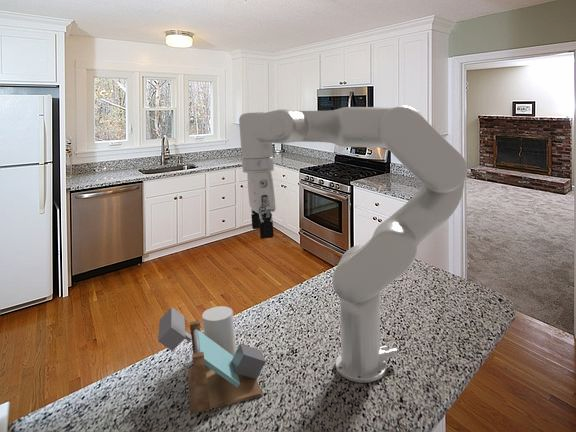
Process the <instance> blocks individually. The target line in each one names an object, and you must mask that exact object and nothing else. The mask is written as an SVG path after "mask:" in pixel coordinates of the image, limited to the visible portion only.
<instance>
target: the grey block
mask: <svg viewBox="0 0 576 432" xmlns="http://www.w3.org/2000/svg"><path fill="white" fill-rule="evenodd" d="M266 362H267V361H266V359H265V356H264V354H263V351H262V349H258V348H255V347H252V346H250V345H246V344H243V343H240V344H239V345H238V347H237V348H236V353H235V355H234V356H233V359H232V365H233V369H234V373H237V374H240V375H244V376H247V377H250V378H254V379H257V380H258V377H259V376H260V374H261V372H262V370H263V368H264V366H265V364H266Z"/></svg>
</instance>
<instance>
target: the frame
mask: <svg viewBox="0 0 576 432" xmlns="http://www.w3.org/2000/svg"><path fill="white" fill-rule="evenodd" d="M200 323H201V322H200V320H195V321H189V330H190V334H191V337H192V340H191V346H192V347H191V348H192V353H191V356H192V357H191V358H192V367H190V368H187V380H188V382H187V383H188V395H189V396H188V399H189V413H190V414H195V413H202V412H205V411H210V410H212V409H215V408H218V407H223V406H227V405H233V404H235V403H240V402H244V401H247V400H252V399H256V398H261V397H263V393H262V391H261V388H260V385H259V381H258V378H257V379H254V378H250V377H247V376H244V375H240V374H238V378H239V382H240V385H239V386H238V387H236V386H234V385H233V384H231V383H230V382H229V381H227V380H226V379H224V378H223V377H221V376H220V375H219V374H217V373H216V372H214V371H213V370H211V369H210V368H209V367H207V366H206V365H205V360H204V352H200V353H195V342H194V332H193V330H194V329H195V328H197V330H199V331H200V332H201V333H202V331H201V324H200Z"/></svg>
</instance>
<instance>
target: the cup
mask: <svg viewBox="0 0 576 432" xmlns="http://www.w3.org/2000/svg"><path fill="white" fill-rule="evenodd" d="M201 318H202V325H203V334H204V335H205V336H207V337H208V338H210V339H211V340H212V341H214V342H215V343H216V344H218V345H219V346H220V347H222V348H223V349H224V350H226V351H227V352H229V353H230V354H231V355H233V357H234V355H235V353H236V351H237V346H236V345H237V344H236V335H235V333H236V332H235V323H234V321H235V320H234V311H233V309H232V308H231V307H229V306H226V305H225V306H222V305H220V306H213V307H211V308H208V309H206V310H205V311H204V312H202V315H201Z"/></svg>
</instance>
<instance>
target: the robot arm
mask: <svg viewBox="0 0 576 432" xmlns="http://www.w3.org/2000/svg"><path fill="white" fill-rule="evenodd" d="M238 123H239V137H240V149H241V150H240V151H241V161H242V163H241V165H242V172H243V173H245V174H246V175H247V176H246V177H247V190H248V191H247V192H248V203H249V206H250V209H251V227H252V228H251V229H253V230H258V229H259V238H260V239H261V240H264V239H272V238H274V235H275V233H274V221H273V213H272V212H274V213H275V211H276V209H277V207H276V198H275V187H274V180H273V175H272V172H273V171H274V168H275V167H274V156H273V155H274V154H273V151H274V150H273V144H289V143H297V142H299V143H301V142H304V143H305V142H307V143H311V142H312V143H327V144H328V143H329V144H334V145H337V146H339V147H345V148H376V149H377V148H379V149H388V151H389V152H390V153H391V154H392V155H393V156H394V157H395V158H396V159H397V160H398V161H399V162H400V163H401V164H402V165H403V166H404V167H405V168H406V169H407V170H408V171H409V172H410V173H411V174H412V175H413V176H414V177H415V178H416V179H417V180H418V181H419V182H420V183H421V186H420V188H419V189H418V191H417V192H416V193H415V194H414V195H413V196H412V197H411V198H410V199H409V200H407V202H406V203H405V204H404V205H403V206H401V207H400V208H399V209H397V211H395V212H394V213H393V214H391V216H389V217H388V218H386V220H384V221H382V222H381V223H380V224H379V225H378V226H377V227H376V228H375V230H374V232H373V233H372V237H371V238H370V239H369V240H368V241H367V242H365V243H364V244H363V245H354V246H352V247H350V248H349V249H347V250H346V251H345V252H344V253H343V255H342V256H341V258H340V260H339V262H338V264H337V266H336V267H335V269H334V271H333V275H332V282H331V283H332V288H333V290H334V293H335V294H336V296H337V297H338V298H339V299H340V302H339V303H340V304H339V305H340V311H339V312H340V344H341V345H340V352H341V353H340V354H338V356H337V357H336V359H335V362H334V365H335V370H336V372H337V373H338V374H339V375H340V376H341V377H342V378H344V379H345V380H346V379H347V381H351V382H355V383H360V384H361V383H363V384H364V383H372V382H375V381H378V380H380V379H382V378H383V377H384V375H385V374H386V372H387V363H386V361H387V359H389V358H394V357H397V356H398V350H397V348H395V347H394V348H390V349H388V346H387V345H381V292H382V290H384V289H385V288H387V286H389V285H391V284H392V283H393V282H394V281H396V280H397V279H398V278H399V277H401V276H402V275H403V274H404V273H405V272H406V271H408V270H409V269H410V267H411V266H412V265H413V264H414V261H415V259H416V256H417V253H418V247H419V245H421V243H423V242H424V241H425V240H426V239H428V238H429V237H430V236H431V235H432V234H433V233H434V232H436V231H437V230H438V229H439V228H440V227H441V226H442V225H444V224H445V223H446V222H447V221H448V220H449V219H450V217H451V216H452V215H453V214H454V212H455V211H456V210H457V208H458V206H459V205H460V202H461V199H462V197H463V193H464V189H465V188H464V187H465V180H466V178H467V177H468V176H467V175H468V164H467V161H466V159H465V158H464V156H463V155H462V154H461V153H460V152H459V150H457V149H456V148H455V147H453V145H452V144H451V143H449V141H448V140H446V139H445V138H444V137H443V135H441V134H440V133H439V132H438V131H437V130H436V129H435V128H434V127H433V125H431V124H430V123H429V122H428V121H427V119H425V118H424V116H423V115H422V114H421V112H419V111H418V110H417V109H416V108H414V107H411V106H408V105H397V106H365V107H364V106H345V107H339V108H337V109H333V110H332V109H330V110H294V109H275V110H272V111H267V112H264V111H263V112H261V111H260V112H259V111H258V112H257V111H256V112H246V113H245V112H244V113H243V114H240V116H239V119H238Z"/></svg>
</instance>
